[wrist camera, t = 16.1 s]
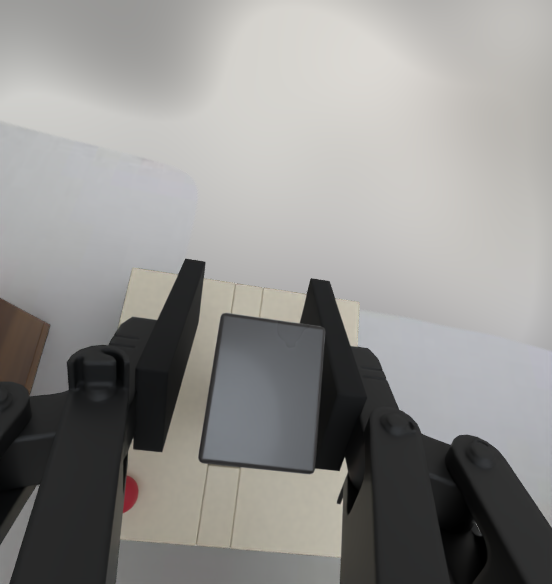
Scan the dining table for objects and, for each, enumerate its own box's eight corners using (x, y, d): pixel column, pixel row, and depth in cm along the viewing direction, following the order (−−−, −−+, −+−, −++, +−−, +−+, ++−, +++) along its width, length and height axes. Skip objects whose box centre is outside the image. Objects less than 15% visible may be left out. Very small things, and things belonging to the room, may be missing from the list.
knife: (211, 429, 26) (194, 476, 6) (218, 383, 27) (223, 300, 7) (241, 432, 27) (314, 488, 7) (247, 387, 27) (327, 315, 8)
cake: (106, 503, 24) (54, 547, 16) (151, 300, 28) (125, 255, 20) (314, 522, 26) (359, 571, 18) (328, 326, 30) (370, 293, 22)
